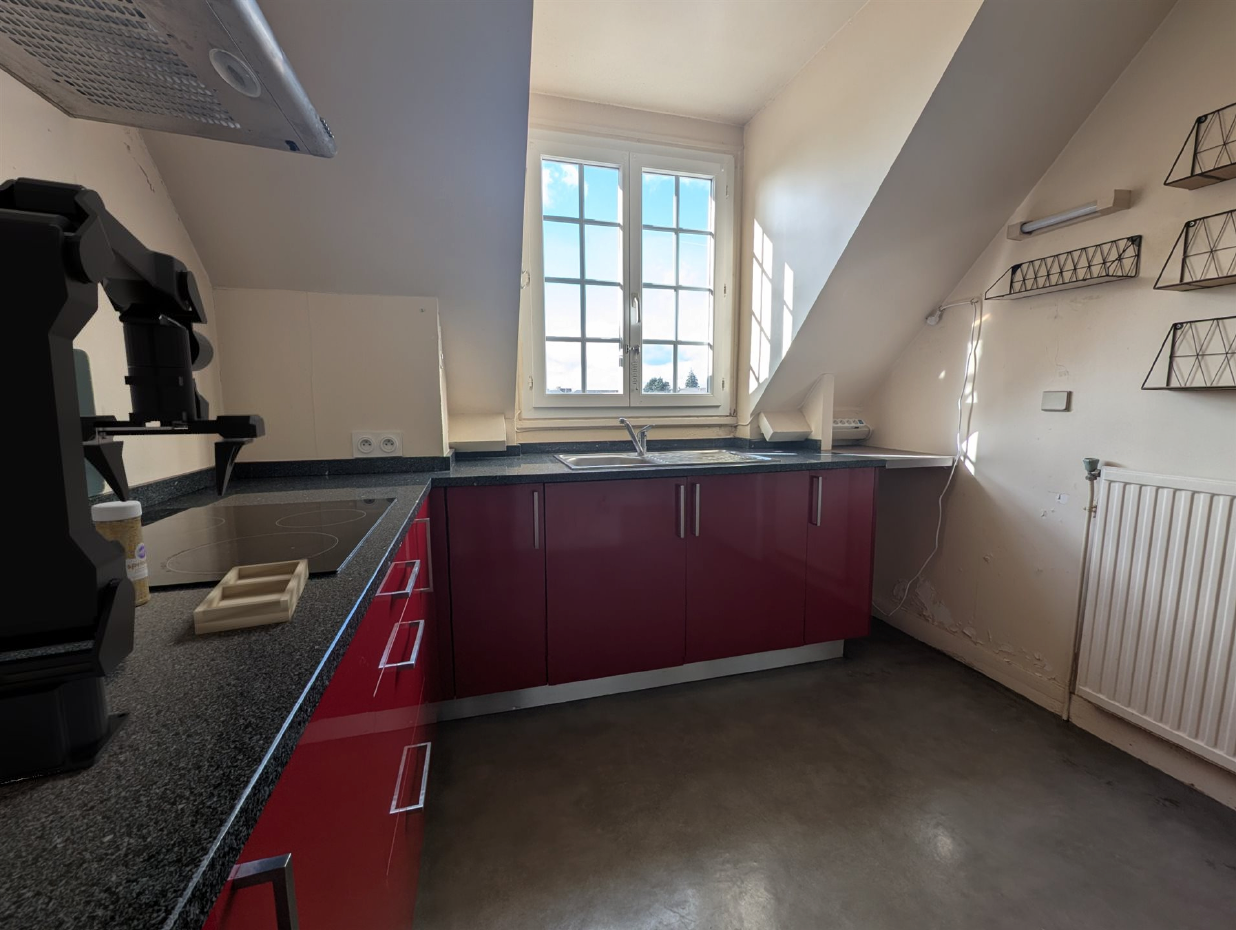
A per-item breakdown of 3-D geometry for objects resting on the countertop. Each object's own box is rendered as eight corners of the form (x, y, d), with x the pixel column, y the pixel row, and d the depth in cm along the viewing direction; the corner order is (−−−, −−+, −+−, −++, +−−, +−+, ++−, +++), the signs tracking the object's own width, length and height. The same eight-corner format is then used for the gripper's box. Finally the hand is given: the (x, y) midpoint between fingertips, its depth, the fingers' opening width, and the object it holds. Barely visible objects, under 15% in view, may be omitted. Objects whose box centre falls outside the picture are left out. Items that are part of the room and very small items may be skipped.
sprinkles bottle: (147, 605, 66) (136, 503, 65) (98, 613, 64) (85, 507, 62) (154, 594, 70) (144, 498, 68) (108, 601, 68) (96, 501, 66)
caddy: (289, 620, 62) (288, 599, 62) (195, 634, 58) (193, 611, 58) (308, 576, 78) (307, 559, 77) (235, 585, 74) (233, 566, 74)
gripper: (268, 373, 71) (277, 483, 74) (89, 369, 64) (105, 492, 66) (250, 369, 61) (261, 497, 63) (35, 364, 54) (55, 510, 56)
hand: (174, 498), depth 62 cm, fingers open, 9 cm apart
